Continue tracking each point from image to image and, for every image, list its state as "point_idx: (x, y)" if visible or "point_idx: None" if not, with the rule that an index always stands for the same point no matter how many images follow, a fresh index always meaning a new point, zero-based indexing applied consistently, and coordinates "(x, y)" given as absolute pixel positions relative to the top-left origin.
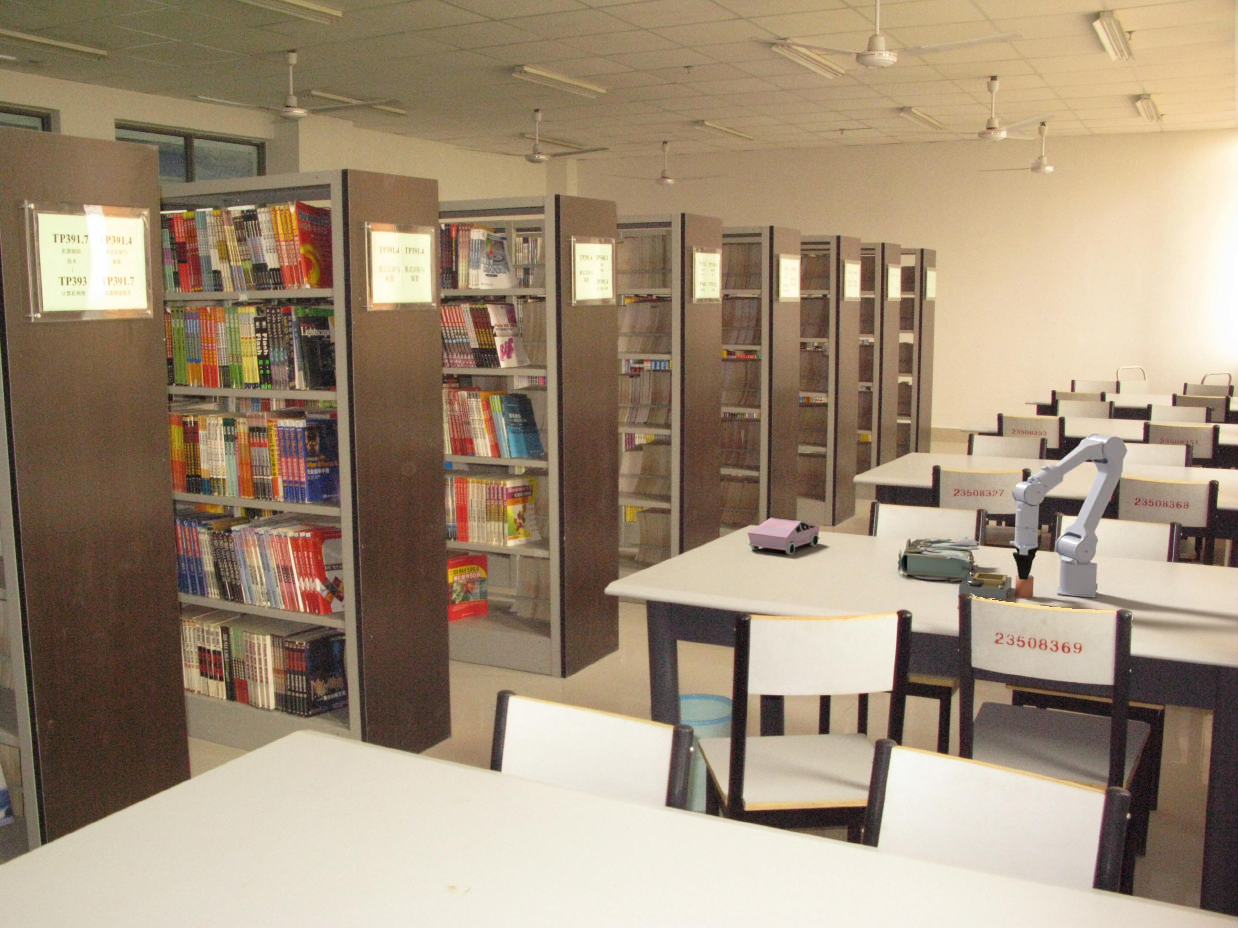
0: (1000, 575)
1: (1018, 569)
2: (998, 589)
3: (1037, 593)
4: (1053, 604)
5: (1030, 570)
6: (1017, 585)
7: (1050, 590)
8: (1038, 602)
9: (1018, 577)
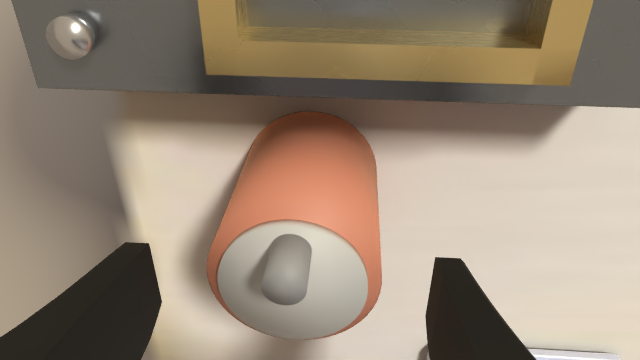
0: (548, 3)
1: (43, 315)
2: (19, 11)
3: (440, 247)
4: (177, 317)
5: (430, 351)
6: (247, 176)
7: (555, 312)
8: (180, 252)
9: (223, 230)
